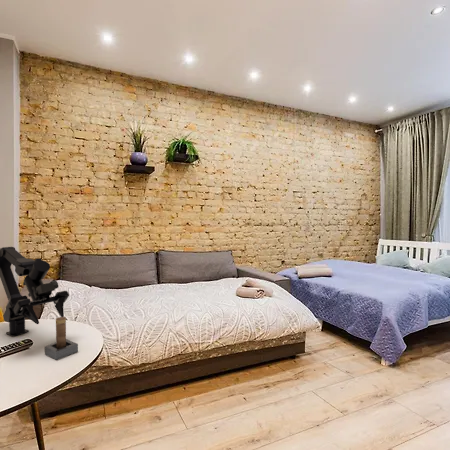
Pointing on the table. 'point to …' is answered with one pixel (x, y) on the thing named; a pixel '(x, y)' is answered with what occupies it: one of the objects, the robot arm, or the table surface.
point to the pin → (60, 332)
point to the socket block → (61, 350)
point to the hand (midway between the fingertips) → (50, 320)
